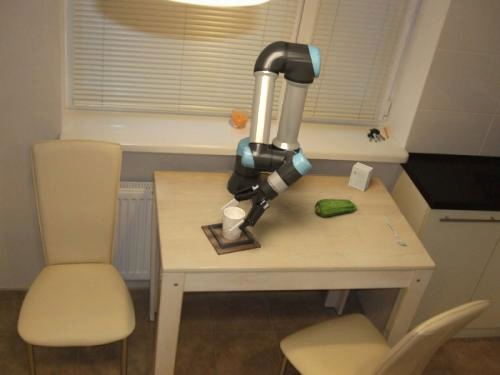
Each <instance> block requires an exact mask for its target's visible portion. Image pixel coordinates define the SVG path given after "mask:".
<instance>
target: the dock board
mask: <svg viewBox="0 0 500 375" xmlns="http://www.w3.org/2000/svg"><path fill="white" fill-rule="evenodd" d="M200 228H201V230H202V231H203V233H204V234H205V236H206V238H207V239H208V241H209V242H210V244H211V246H212V247H213V249H214V251H215V252H216V254H217V255H218V256H221V255H227V254H232V253H238V252H243V251H244V252H245V251H250V250H255V249H261V248H262V244H261V243H260V242H259V241H258V239H257V238H256V237H255V236H254V234H253V232H252V231H251V229H250V228H249V227H248V226H247V227H246V228H244V229H243V230H242V231H241V234H240V237H239V238H238V239H236V240H228V239H226V238H224V237H223V235H222V230H223V222H221V223H213V224H205V225H201V226H200Z"/></svg>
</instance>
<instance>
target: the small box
mask: <svg viewBox="0 0 500 375" xmlns="http://www.w3.org/2000/svg"><path fill="white" fill-rule="evenodd" d="M373 171H374V167H371V166H369V165H366V164H364V163H361V162H359V161H357V162H356V163H355V164H354V165H353V166H352V169H351V172H350V176H349V180H348V185H347V186H348V187H351V188H354V189H356V190H358V191H361V192H363V193H364V192H365V191H366V190H367V189H368V188H369V185H370V182H371V178H372V174H373Z"/></svg>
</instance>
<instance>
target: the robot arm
mask: <svg viewBox="0 0 500 375" xmlns="http://www.w3.org/2000/svg"><path fill="white" fill-rule="evenodd" d="M321 57H322V56H321V50H320V48H319V46H316V45H311V44H306V43H300V42H299V43H298V42H290V41H285V40H277V41H274V42H271V43H269V44H268V45H267V46H265V48H263V49H262V51H261V52H260V53H259V55H258V57H257V58H256V61H255V62H254V66H253V73H252V76H254V78H255V81H254V89H253V97H252V107H251V116H250V117H251V118H250V126H249V134H248V136H246V137H244V138H242V139H240V140H239V141H238V143H237V147H236V150H235V153H236V155H235V159H234V166H233V172H232V173H231V174H230V177H229V179H228V181H227V185H226V188H227V191H228V192H229V193H230V194H232V195H234V196H233V198H232V199H230V200H229V201H228V202H227V203H226V204H225V205H223V206H222V207H221V208H220V210H221V211H222V212H223V213H224V210H225V209H226V208H228V207H236V206H238V205H239V204H240V203H241V202H242V201H243V202H244V201H251V202H252V203H251V207H250V209H249V212H248V214H247V215H246V216H245V218H244V219H243V220H242V221H240V222H239V223H238V224H237V225H235V226H234V227H233V228H231V229H230V230H229V231H230V232H231V233H232V234H233V235H236V234H237V233H238V232H240V231H241V230H243V229H244V228H246V227H248V226H250V228H254V227H255V226H256V224H257V223H258V222H259V220H260V219H261V218H262V216H263V215H264V213H265V212H266V211H267V210H268V209H269V208H270V204H268V201H273V200H274V199H275V198H277V197H278V196H279V194H281V193H283V192H285V190H287V189H288V188H289V187H291V186H292V185H294V183H296V182H297V181H298V180H300V179H302V178H303V176H305V175H307V174H308V172H310V171H311V170H312V168H313V166H312V164H311V163H310V161H309V159H308V158H307V156H305V155H304V154H303V148H302V147H300V146H301V144H300V142H299V141H298V140H299V139H298V138H299V133H300V128H301V123H302V118H303V114H304V108H305V103H306V99H307V94H308V90H309V86H311V85H312V84H313V83H314V81H315V79H318V78H319V77H320V74H321V70H322V69H321V66H322V58H321ZM280 74H283V79H284V80H285V82H286V83H285V84H286V85H285V90H284V95H283V100H282V105H281V106H282V107H281V110H280V117H279V123H278V127H277V133H276V136H275V137H274V138H273V139H271V143H270V135H271V126H272V125H271V124H272V116H273V108H274V97H275V88H276V80H277V79H279V77H280ZM262 172H266V173H267V172H268V173H271V174H269V175H268V176H267V178H264V179H263V180H262Z"/></svg>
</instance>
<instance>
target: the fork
mask: <svg viewBox="0 0 500 375" xmlns="http://www.w3.org/2000/svg"><path fill="white" fill-rule="evenodd" d="M386 217H387V216H386V215H383V219H384V221H385V222H386V223H387V225H388V226H389V227H390V228H391V229H392V231H394V237H395V236H396V238H397V236H398V238H399V234H398V233H397V231H396V229H395V228H394V227H393V225H392V224H391V222H390V221H389V219H387V218H388V217H387V218H386ZM398 238H397V239H395V241H396V242H397V243H399V245H406V246H408V244H407V243H406V242H405V241H404V240H403V239H398Z"/></svg>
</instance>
